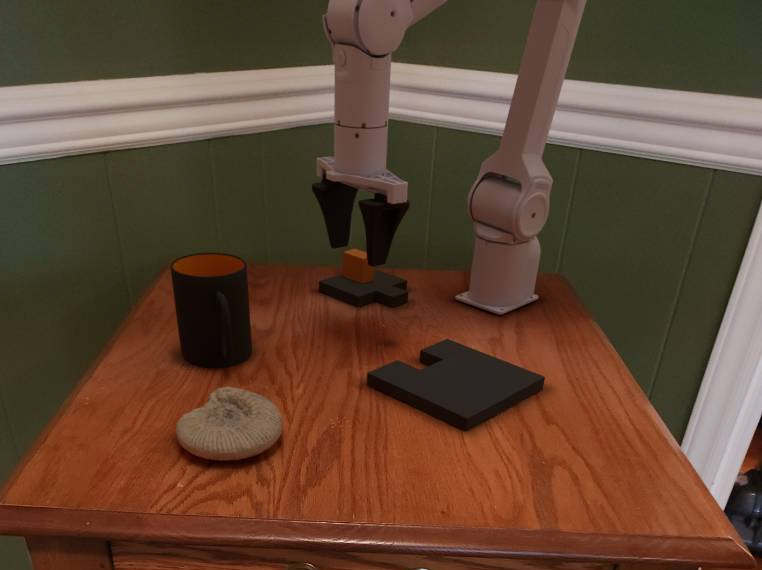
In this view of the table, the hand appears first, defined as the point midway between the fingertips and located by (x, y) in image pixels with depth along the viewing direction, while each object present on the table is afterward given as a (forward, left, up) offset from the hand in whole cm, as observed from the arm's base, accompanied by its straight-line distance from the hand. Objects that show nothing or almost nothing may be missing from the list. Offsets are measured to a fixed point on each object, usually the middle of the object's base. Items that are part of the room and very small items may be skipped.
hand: (357, 255), depth 85 cm
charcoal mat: (+2, +17, -10) cm, 20 cm away
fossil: (+27, +9, -10) cm, 30 cm away
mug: (+17, -6, -10) cm, 20 cm away
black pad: (-12, -9, -10) cm, 18 cm away
